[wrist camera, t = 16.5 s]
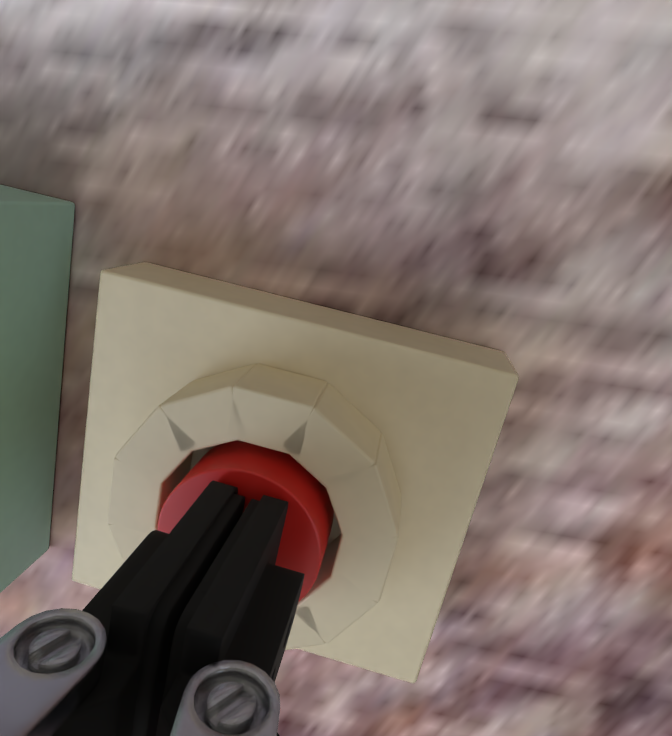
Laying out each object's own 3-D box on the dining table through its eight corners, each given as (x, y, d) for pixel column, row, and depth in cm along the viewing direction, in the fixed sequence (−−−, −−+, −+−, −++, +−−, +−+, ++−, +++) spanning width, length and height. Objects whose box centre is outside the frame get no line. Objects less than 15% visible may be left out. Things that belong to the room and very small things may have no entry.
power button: (349, 458, 13) (338, 496, 11) (316, 587, 14) (301, 639, 12) (200, 418, 13) (167, 448, 11) (179, 546, 14) (146, 592, 12)
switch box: (506, 351, 14) (536, 402, 11) (416, 627, 17) (414, 747, 13) (143, 260, 15) (50, 277, 11) (111, 538, 18) (27, 626, 14)
